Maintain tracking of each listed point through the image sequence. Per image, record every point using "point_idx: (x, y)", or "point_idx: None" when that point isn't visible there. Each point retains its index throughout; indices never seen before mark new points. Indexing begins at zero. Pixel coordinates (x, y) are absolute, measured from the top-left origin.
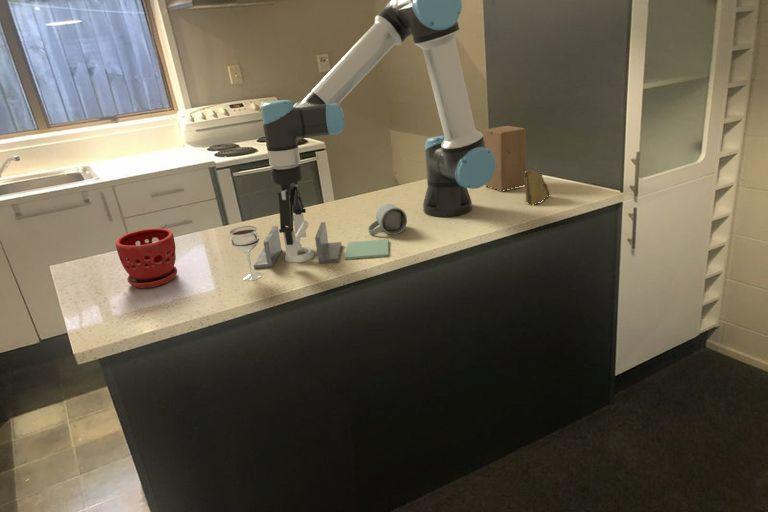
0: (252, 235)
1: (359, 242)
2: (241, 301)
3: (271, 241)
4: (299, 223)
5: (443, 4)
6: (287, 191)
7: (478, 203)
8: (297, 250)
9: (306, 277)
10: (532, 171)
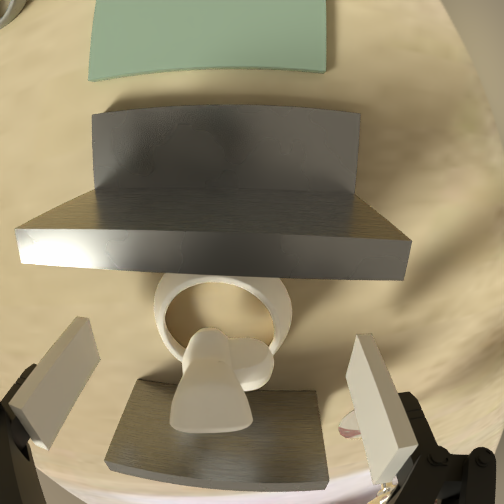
0: None
1: (107, 20)
2: (498, 390)
3: (270, 465)
4: (58, 389)
5: None
6: None
7: None
8: (362, 349)
9: (465, 257)
10: None
